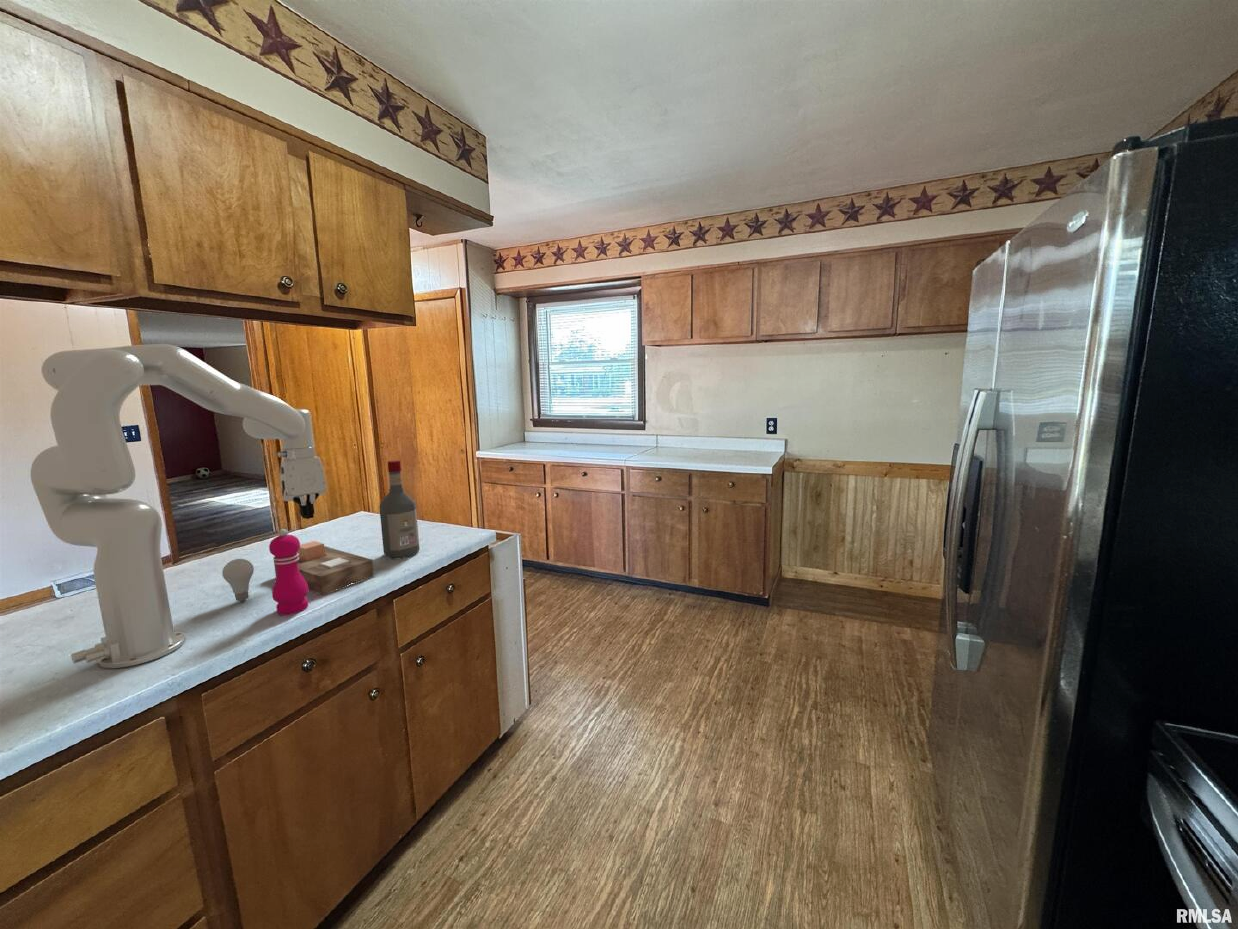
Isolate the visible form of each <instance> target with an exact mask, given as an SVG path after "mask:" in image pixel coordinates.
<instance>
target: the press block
mask: <svg viewBox="0 0 1238 929" xmlns="http://www.w3.org/2000/svg"><path fill="white" fill-rule="evenodd" d="M324 549H325V556H323V557H320V558H316V559H313V560H310V561H303V560H298V568H299V571H300V573H301V575H302V576H303V578H304V579H305V580H306V582H307V584H308V588H309V591H311V592H313V591H314V592H313V593H317V594H319V595H321V596H324V595H327V594H329V592H330V593H332V592H331V591H333V592H335V591H337V590H336V589H338V590H340V589H341V590H342V589H344V588H346V587H348V586H347V585H349V584H351V583H355V584H357V583H359V582H358V581H360V582H362V581H361V580H363V581H365V580H364V579H366V578H369V577H371V578H374V577H375V574H374V565H373V559H371V558H368V557H364V556H360V555H358V554H354V553H351V552H346V551H343V550H339V549H336V548H333V547H330V546H326V545H324ZM337 558H341V559H344V560H348V561H349V563H348V564H345V565H342V566H339V567H336V568H333V569H327V568H324V567H321V565H320V563H324V562H327V561H330V560H333V559H337ZM273 564H274V563H273ZM274 574H275V579H276V578H277V566H276V564H274ZM369 579H370V578H369ZM366 580H367V579H366ZM356 582H357V583H356ZM345 586H346V587H345ZM349 586H350V585H349ZM343 587H344V588H343ZM334 590H335V591H334Z"/></svg>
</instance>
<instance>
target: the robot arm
mask: <svg viewBox="0 0 1238 929" xmlns="http://www.w3.org/2000/svg"><path fill="white" fill-rule="evenodd" d="M41 375H42V378H43V379H44V381H45V382H46V384H48V386H50V387H51V388H52V389H55V390H56V391H57V392H56V393H55V396H54V398H53V399H52V400H53V401H52V403H51V406H50V414H49V415H50V421H51V422H50V423H51V426H52V430H53V434H54V437H55V441H56V444H57V445H54V446H50V447H48V448H46V449H44V450H43V451H41V452H39V454H37V455H36V457H35V458H34V460H33V461H32V463H31V467H30V479H31V480H30V481H31V483H32V486H33V490H34V492H35V495H36V498H37V500H38V502H39V504H40V507H41V510H42V513H43V515H44V516H45V520H46V522H47V525H48V526H49V528H50V530H51V531H52V533H53V535H55V537H56V538H57V539H59V540H60V541H62V542H64V543H66V544H69V545H73V546H79V547H88V548H90V547H91V548H96V549H97V550H96V557H95V559H94V563H93V580H94V583H95V584H94V585H95V590H96V593H97V599H98V604H99V610H100V612H101V613H100V614H101V620H102V625H103V629H104V634H105V636H104V637H100V642H99V643H96V644H94V647H91V648H90V647H89V648H88V649H87V648H86V649H83V650H79V651H76V652H72V653H71V655H70V657H71V661H72V662H73V664H77V663H80V662H83V661H85V662H86V664H88V663H90V662H94V661H97V662H98V665H99V666H100V667H101V668H105V669H120V668H126V667H127V668H128V667H133V666H137V665H141V664H144V663H147V662H150V661H154V660H156V659H159V658H162V657H165V656H167V655H168V654H170V653H172V652H174V651H175V650H178V649H179V648H180V647H181V646H183V644H184V643H185V642H186V634H185V633H184V632H182V631H177V630H174V624H173V618H172V613H171V606H170V601H169V595H168V590H167V584H166V578H165V572H164V568H163V562H162V552H161V551H162V550H161V540H162V539H161V538H162V531H163V530H162V529H163V528H162V527H163V526H162V524H163V523H162V519H161V515H160V513H159V511H157V509H156V508H155V507H154V506H152V505H151V504H148V503H147V502H145V501H141V500H137V499H131V498H115V497H114V498H113V497H112V498H111V497H110V498H108V496H107V495H115V494H118V493H121V492H124V491H126V490H128V489H129V488H130V487H132V485H133V483H134V482H135V479H136V469H135V464H134V461H133V459H132V456H131V452H130V450H129V446H128V444H127V441H126V438H125V435H124V431H123V428H122V424H121V418H120V413H121V409H122V405H123V404H124V402H125V401H126V399H127V398H128V397H129V396H130V395H131V394H132V393H133V392H134V391H135V390H136V389H137V388H138V387H141V386H162V387H165V388H167V389H169V390H171V391H173V392H175V393H176V394H179V395H181V396H182V397H183V398H186V399H188V400H189V401H192V402H193V403H195V404H196V405H198V406H200V407H201V408H204V409H206V410H208V411H211V412H215V413H218V414H223V415H226V416H227V415H228V416H233V417H239V418H243V420H242V428H243V430H244V432H245V433H246V434H247V435H248V436H250V437H252V438H255V439H258V440H259V439H260V440H281V448H282V449H281V450H280V451H278V452H277V457H278V458H282V459H283V460H281V462H280V469H279V470H280V471H279V472H280V475H279V477H280V487H281V488H280V490H281V493H282V494H283V496H282V500H283V501H284V502H294V503H296V504H297V505H298V508H299V514H300V515H299V516H301V518H302V519H305V520H309V519H313V518H314V517H315V516H314V515H315V507H314V504H315V503H316V500H317V499H318V498H319V497H320V496H324V494H326V492H327V491H326V490H327V487H328V486H327V478H326V474H325V469H324V467H323V462H322V460H321V458H320V456H317V454H316V453H317V452H316V446H315V440H314V439H315V436H314V431H313V430H314V429H313V424H312V415H311V412H310V411H309V410H308V409H305V408H294V407H292V406H291V405H290V404H288V403H287V402H285V401H283V400H281V399H280V398H278V397H276V396H274V395H272V394H269V393H266V392H265V391H262V390H259V389H256V388H254V387H251V386H249V385H246V384H244V383H241V382H238V381H235V380H233V379H231V378H230V377H229V376H226V375H225V374H223V372H220V371H219V370H217V369H216V368H214V367H212V366H211V365H209V364H207V362H205V361H203V360H201V359H200V358H198V357H197V356H195V355H193V354H192V353H190V352H189V351H188V350H186V349H184V348H182V347H179V346H177V345H173V344H169V343H156V344H155V343H154V344H136V345H135V344H134V345H125V346H124V345H123V346H116V347H115V346H114V347H105V348H104V347H103V348H89V349H77V350H76V349H75V350H74V349H73V350H72V349H70V350H62V351H57V352H55V353H53V354H51V355H49V356H47V358H45V360H44V361H43V363H42V365H41Z"/></svg>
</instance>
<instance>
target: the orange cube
mask: <svg viewBox="0 0 1238 929" xmlns="http://www.w3.org/2000/svg"><path fill="white" fill-rule="evenodd" d="M324 546H325V543H323V542H320V541H315V540H313V541H311V542H305V543H302V544H301V543H300V548H299V550H298V551H297V553H298V554H299V560H303V561H310V560H313V559H316V558H320V557H323V556H325V549H324Z"/></svg>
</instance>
